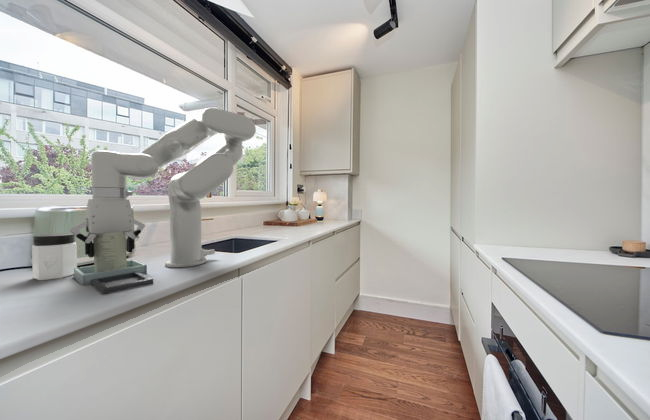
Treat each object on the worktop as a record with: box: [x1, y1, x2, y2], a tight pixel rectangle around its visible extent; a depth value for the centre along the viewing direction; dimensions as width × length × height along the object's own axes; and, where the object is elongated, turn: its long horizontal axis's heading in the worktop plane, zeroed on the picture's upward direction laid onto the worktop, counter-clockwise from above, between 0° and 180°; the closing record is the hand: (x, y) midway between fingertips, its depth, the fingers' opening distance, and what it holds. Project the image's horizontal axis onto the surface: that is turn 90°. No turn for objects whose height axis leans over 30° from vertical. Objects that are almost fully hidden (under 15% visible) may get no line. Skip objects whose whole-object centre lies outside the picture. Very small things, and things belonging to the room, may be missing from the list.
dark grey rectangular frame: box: [90, 271, 154, 295], centre depth 65 cm, size 10×12×1 cm
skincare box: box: [92, 232, 127, 273], centre depth 73 cm, size 6×4×12 cm
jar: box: [31, 232, 78, 281], centre depth 72 cm, size 9×8×12 cm
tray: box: [73, 259, 148, 286], centre depth 73 cm, size 14×12×2 cm
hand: (111, 254), depth 73 cm, fingers open, 8 cm apart
